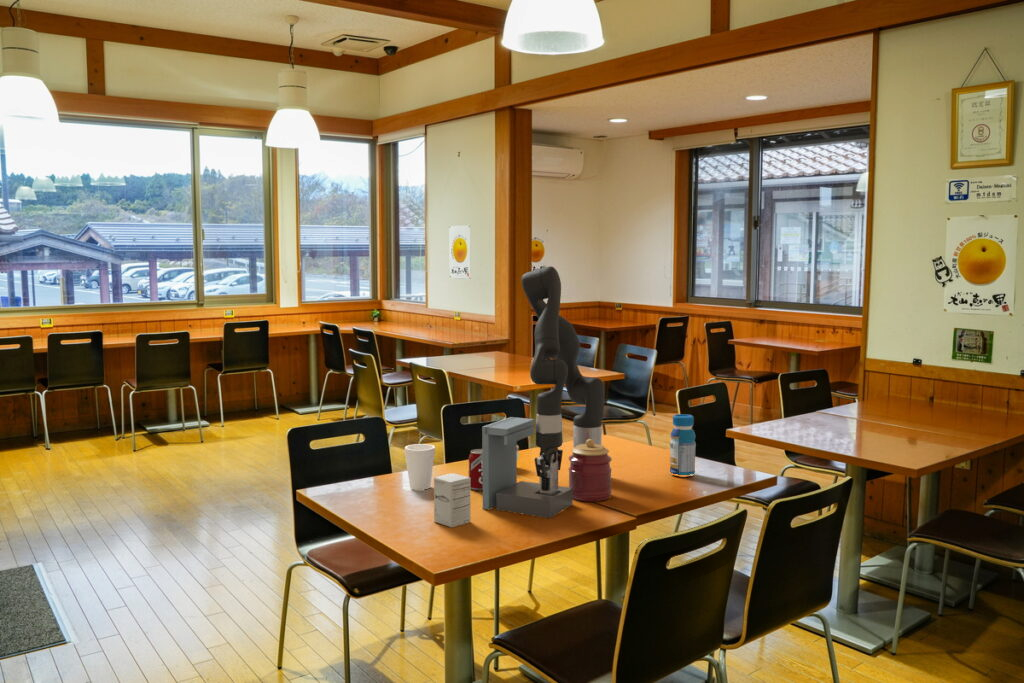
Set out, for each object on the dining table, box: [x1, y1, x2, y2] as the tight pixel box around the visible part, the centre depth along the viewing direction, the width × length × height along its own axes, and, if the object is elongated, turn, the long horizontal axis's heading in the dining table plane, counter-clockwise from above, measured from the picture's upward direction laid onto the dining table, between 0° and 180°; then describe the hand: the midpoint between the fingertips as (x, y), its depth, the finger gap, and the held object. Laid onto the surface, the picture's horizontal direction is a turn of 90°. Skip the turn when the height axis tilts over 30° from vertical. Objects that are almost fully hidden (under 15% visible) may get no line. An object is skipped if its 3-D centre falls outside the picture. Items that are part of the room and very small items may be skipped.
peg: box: [539, 461, 559, 496], centre depth 239 cm, size 4×4×12 cm
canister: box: [568, 439, 613, 503], centre depth 252 cm, size 13×13×18 cm
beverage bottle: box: [669, 413, 697, 475], centre depth 277 cm, size 8×8×20 cm
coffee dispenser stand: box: [481, 416, 535, 510], centre depth 245 cm, size 17×8×24 cm, turn 151°
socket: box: [495, 480, 573, 519], centre depth 242 cm, size 15×17×5 cm
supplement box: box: [433, 472, 472, 528], centre depth 228 cm, size 7×7×13 cm
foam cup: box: [404, 443, 436, 491], centre depth 263 cm, size 10×9×13 cm
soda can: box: [468, 448, 483, 491], centre depth 262 cm, size 7×7×12 cm
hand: (548, 488), depth 239 cm, fingers closed on peg, 4 cm apart
